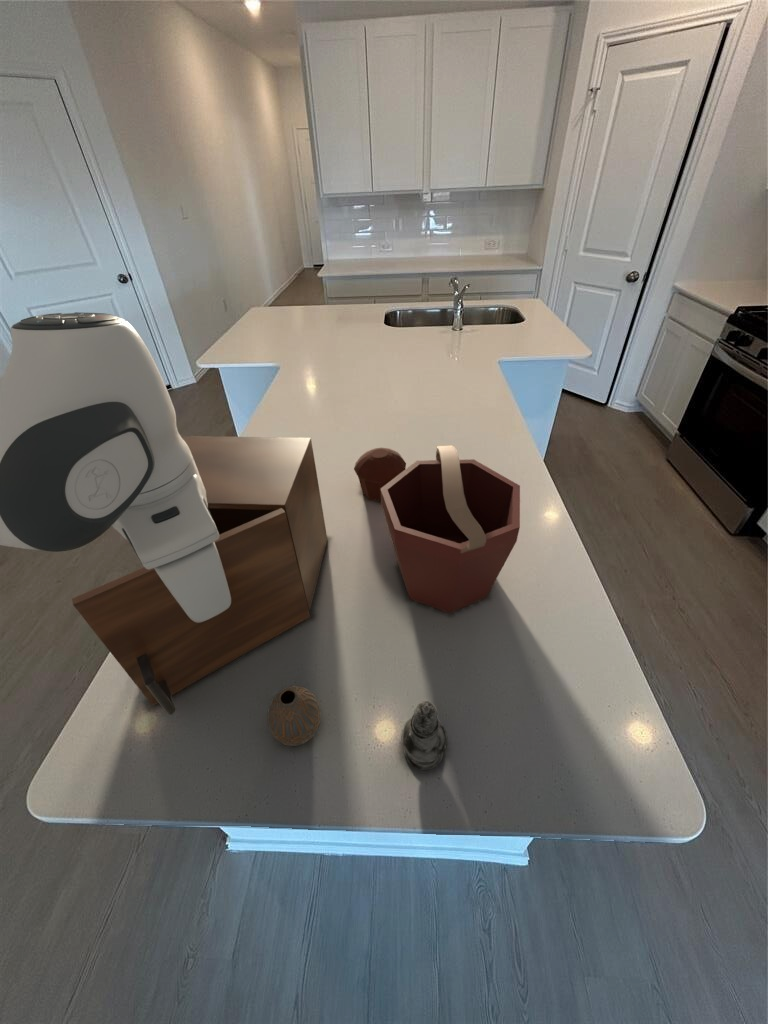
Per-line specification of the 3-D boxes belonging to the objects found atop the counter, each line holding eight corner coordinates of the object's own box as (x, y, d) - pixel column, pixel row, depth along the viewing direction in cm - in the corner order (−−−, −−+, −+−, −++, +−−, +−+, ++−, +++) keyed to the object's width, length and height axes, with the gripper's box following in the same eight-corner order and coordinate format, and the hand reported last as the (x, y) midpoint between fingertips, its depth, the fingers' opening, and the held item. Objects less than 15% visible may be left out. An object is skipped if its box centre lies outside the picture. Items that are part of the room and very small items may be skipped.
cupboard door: (324, 637, 72) (302, 532, 57) (162, 735, 61) (79, 636, 46) (306, 612, 76) (281, 507, 61) (150, 699, 65) (71, 598, 49)
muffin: (389, 470, 108) (388, 434, 102) (415, 492, 101) (416, 455, 94) (347, 486, 103) (343, 450, 97) (371, 511, 96) (369, 474, 90)
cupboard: (309, 611, 76) (284, 504, 61) (166, 605, 78) (107, 500, 63) (327, 539, 90) (311, 437, 74) (205, 535, 92) (164, 435, 76)
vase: (328, 706, 63) (321, 674, 58) (316, 757, 58) (306, 727, 52) (282, 700, 64) (270, 668, 59) (266, 749, 59) (251, 720, 53)
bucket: (500, 642, 70) (528, 528, 54) (367, 619, 75) (356, 506, 58) (504, 538, 88) (526, 429, 72) (397, 524, 93) (395, 418, 76)
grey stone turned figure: (453, 741, 59) (460, 697, 51) (433, 782, 55) (437, 742, 48) (414, 718, 62) (416, 673, 54) (393, 756, 58) (391, 714, 50)
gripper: (98, 455, 47) (148, 547, 56) (143, 570, 34) (199, 665, 43) (158, 436, 49) (197, 526, 58) (222, 536, 37) (259, 631, 46)
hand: (198, 586), depth 51 cm, fingers closed
